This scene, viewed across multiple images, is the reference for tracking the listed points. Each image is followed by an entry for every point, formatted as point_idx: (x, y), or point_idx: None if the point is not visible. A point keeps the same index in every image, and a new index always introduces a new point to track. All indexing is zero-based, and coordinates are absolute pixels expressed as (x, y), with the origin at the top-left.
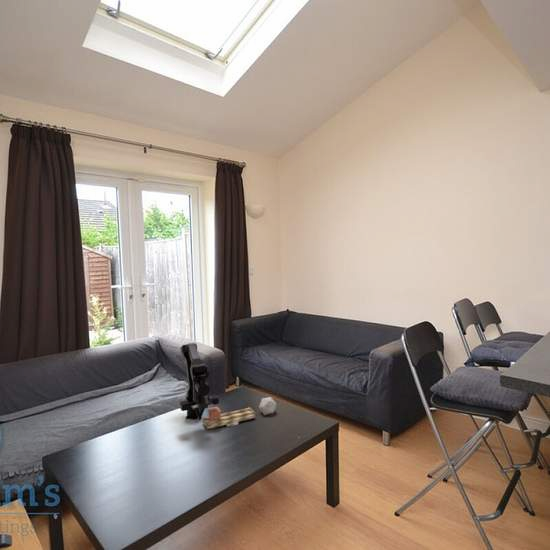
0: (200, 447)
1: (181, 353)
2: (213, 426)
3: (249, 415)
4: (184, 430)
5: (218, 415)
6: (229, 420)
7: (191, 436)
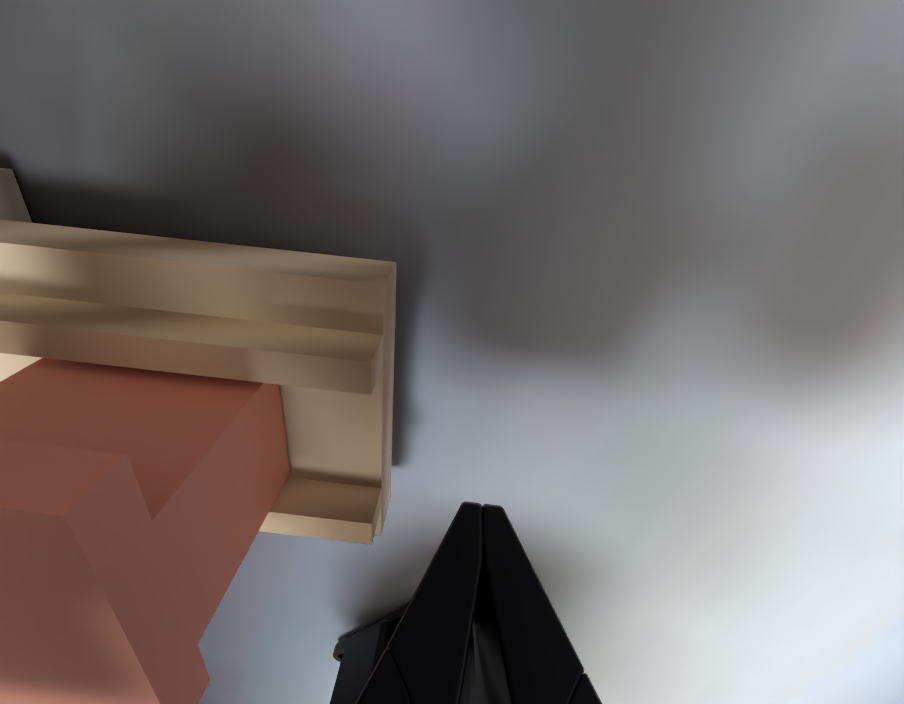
0: None
1: None
2: (257, 254)
3: None
4: (698, 463)
5: None
6: None
7: (747, 224)
